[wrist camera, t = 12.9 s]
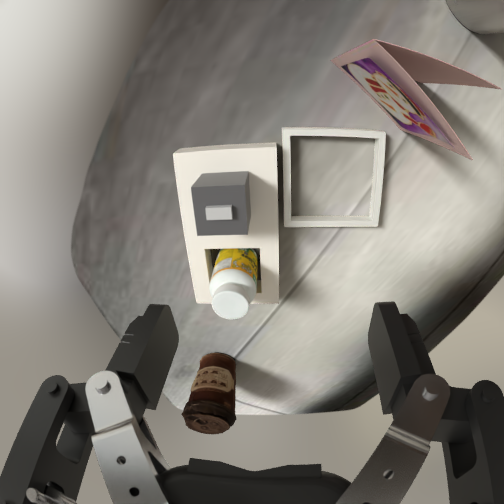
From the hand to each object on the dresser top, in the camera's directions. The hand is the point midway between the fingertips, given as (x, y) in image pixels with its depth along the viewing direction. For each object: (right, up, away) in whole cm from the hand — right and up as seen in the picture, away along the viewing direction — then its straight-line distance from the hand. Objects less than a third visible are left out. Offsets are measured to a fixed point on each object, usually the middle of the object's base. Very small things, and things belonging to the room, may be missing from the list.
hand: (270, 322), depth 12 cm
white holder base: (-3, +6, +26) cm, 27 cm away
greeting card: (+14, +22, +16) cm, 31 cm away
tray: (+9, +11, +23) cm, 27 cm away
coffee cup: (-7, -17, +40) cm, 44 cm away
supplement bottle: (-2, +2, +29) cm, 29 cm away
